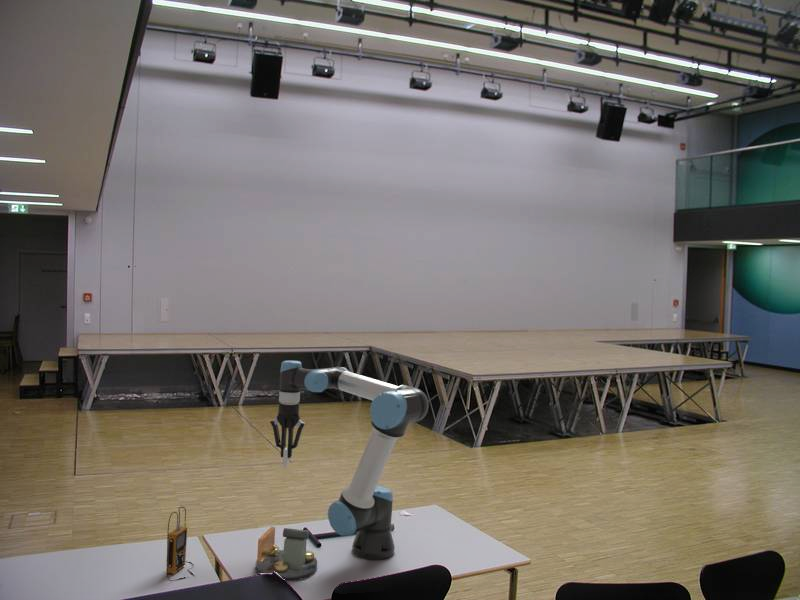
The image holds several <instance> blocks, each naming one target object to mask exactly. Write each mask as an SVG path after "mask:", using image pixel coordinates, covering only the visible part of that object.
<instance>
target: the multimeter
mask: <svg viewBox="0 0 800 600" xmlns="http://www.w3.org/2000/svg"><path fill="white" fill-rule="evenodd" d="M181 508H182V509H183V510H184V513H185V514H184V521H186V517H187V509H186V507H184V506H180V507H179V508H178V512H177V511H172V512H171V513H170V516H169V519H168V525H167V532H168V533H167V536H166V537H167V540H166V542H167V545H166V546H167V547H166V576H167V579H168V578H169V575H168V574H169V573H171V574H170V575H176V574H177V573H178V572H179V571H181V568H182V567H183V566H184V565H185V566H186V561H185V560H186V557H187V556H186V555H187V541H188V540H187V538H188V537H187V535H188V527H187V526H186V524H184V526H181V525H180V524H181V521H180V519H181V513H180V510H181ZM174 513H175V514H176V516H177V518H176V526H175V527H176V528H175V529H174V530H172V531H171V532H169V529H170V528H169V527H170V522H171V521H170V519H171V517H172V515H173V514H174ZM183 568H184V567H183ZM183 568H182V569H183ZM178 570H179V571H178ZM177 571H178V572H177ZM175 573H176V574H175Z"/></svg>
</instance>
